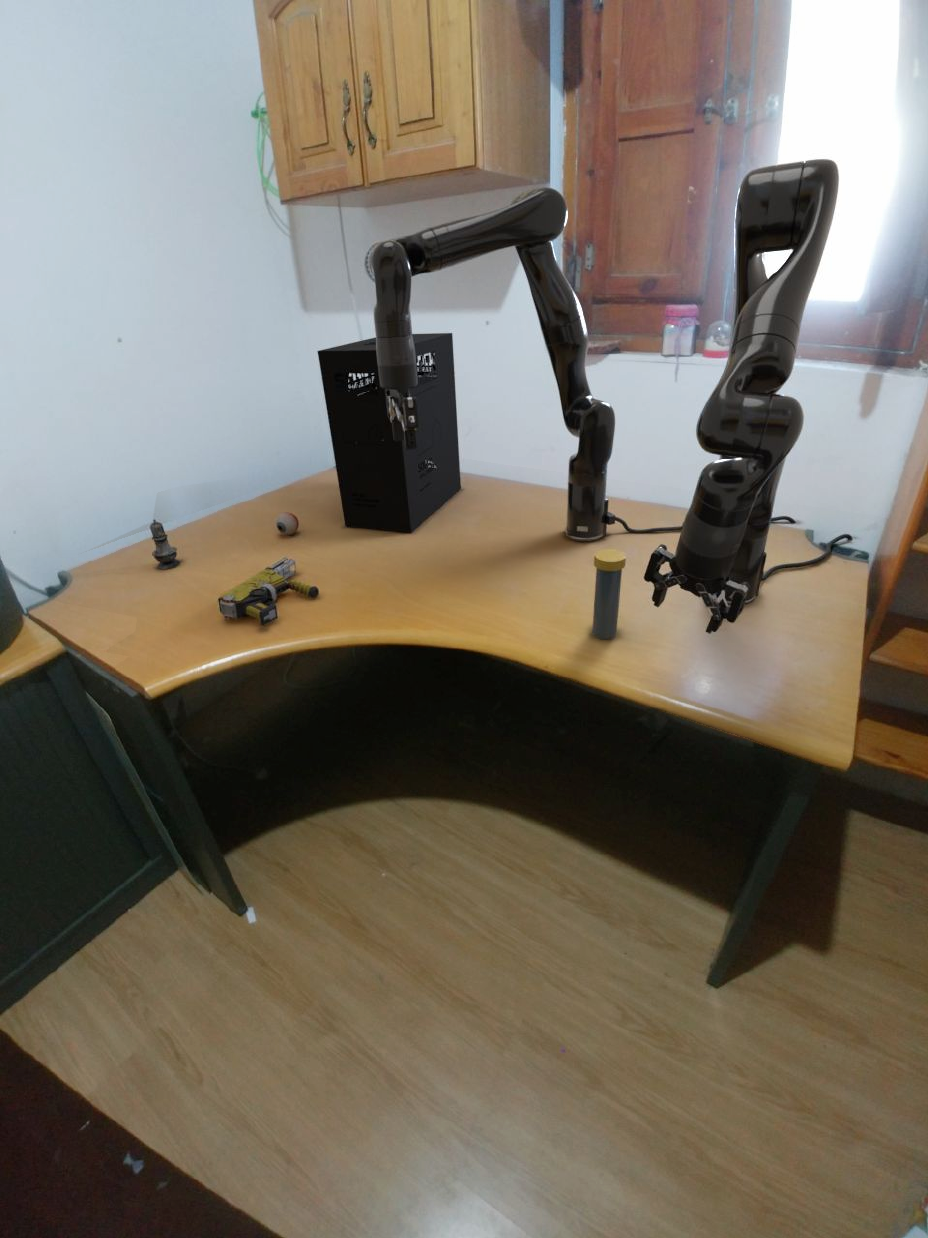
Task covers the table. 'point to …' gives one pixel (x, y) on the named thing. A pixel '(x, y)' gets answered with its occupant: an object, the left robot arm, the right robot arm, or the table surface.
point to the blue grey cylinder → (606, 603)
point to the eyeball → (287, 523)
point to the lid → (609, 560)
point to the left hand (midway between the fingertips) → (404, 444)
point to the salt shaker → (163, 547)
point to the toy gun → (262, 593)
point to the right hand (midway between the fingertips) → (683, 616)
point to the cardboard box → (363, 436)
